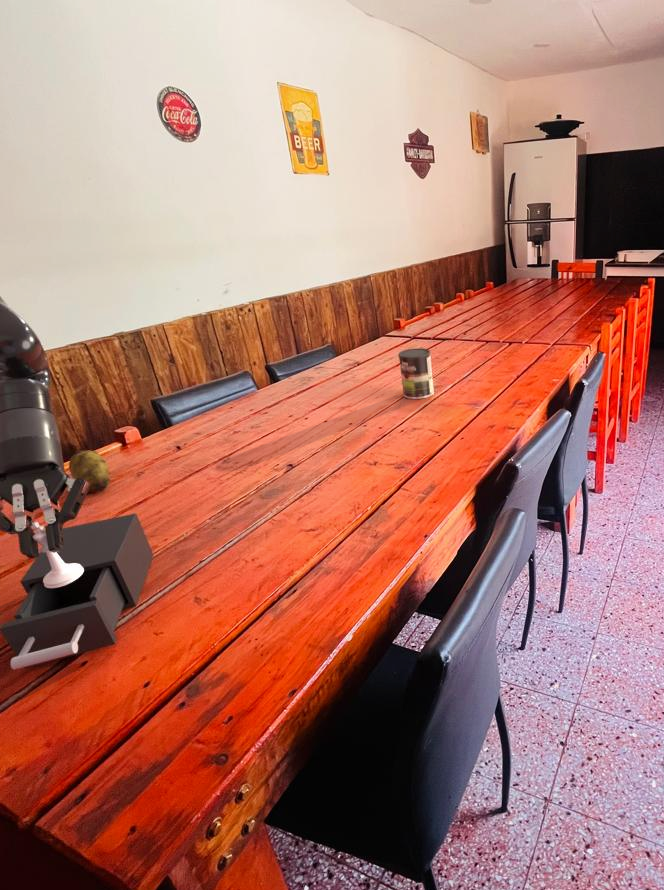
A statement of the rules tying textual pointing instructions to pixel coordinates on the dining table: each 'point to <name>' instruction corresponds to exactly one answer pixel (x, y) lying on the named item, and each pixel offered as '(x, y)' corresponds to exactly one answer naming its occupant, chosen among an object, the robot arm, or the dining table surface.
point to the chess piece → (56, 563)
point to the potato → (90, 469)
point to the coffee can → (416, 373)
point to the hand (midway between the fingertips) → (43, 553)
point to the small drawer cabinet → (103, 553)
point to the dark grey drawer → (66, 619)
